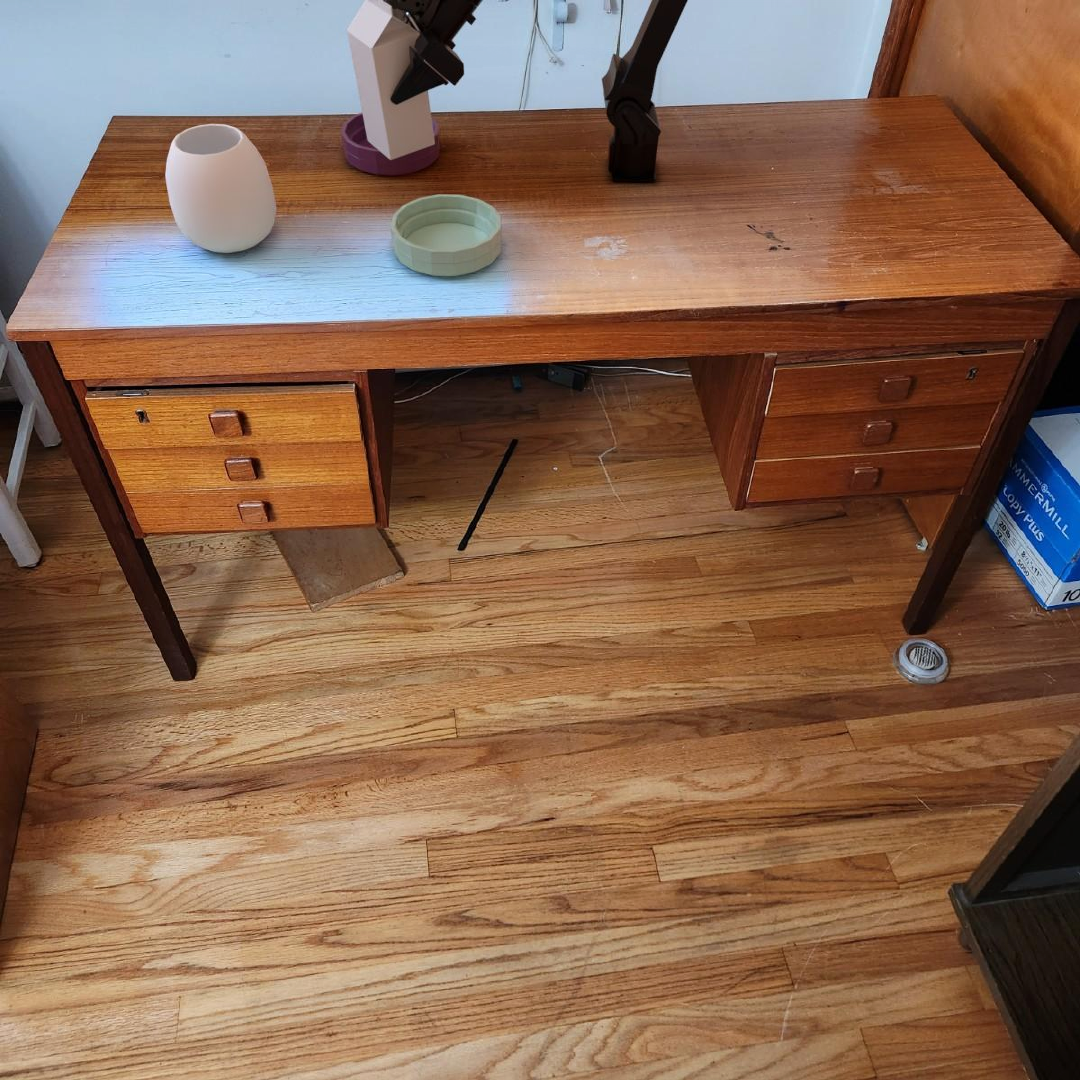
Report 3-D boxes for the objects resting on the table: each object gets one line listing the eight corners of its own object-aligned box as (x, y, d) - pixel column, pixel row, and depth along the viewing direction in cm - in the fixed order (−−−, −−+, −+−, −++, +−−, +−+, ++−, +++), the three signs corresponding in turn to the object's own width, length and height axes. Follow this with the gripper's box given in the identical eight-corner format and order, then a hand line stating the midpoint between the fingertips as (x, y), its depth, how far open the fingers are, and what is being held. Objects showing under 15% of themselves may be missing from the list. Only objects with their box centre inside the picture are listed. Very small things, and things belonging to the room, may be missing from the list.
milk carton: (390, 161, 132) (365, 14, 117) (367, 141, 136) (340, -3, 121) (435, 145, 134) (416, -1, 119) (411, 126, 138) (389, -18, 123)
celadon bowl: (502, 222, 132) (502, 195, 129) (499, 280, 123) (499, 252, 120) (399, 220, 132) (397, 193, 129) (388, 278, 123) (385, 250, 120)
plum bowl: (443, 133, 149) (441, 108, 147) (436, 178, 140) (434, 152, 137) (351, 132, 149) (348, 106, 146) (339, 176, 140) (335, 150, 137)
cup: (254, 271, 123) (231, 171, 113) (162, 254, 125) (131, 155, 115) (298, 220, 132) (281, 123, 122) (211, 205, 134) (187, 109, 124)
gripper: (395, -79, 123) (323, 23, 129) (432, -30, 112) (352, 79, 117) (457, -18, 131) (387, 76, 137) (498, 33, 119) (420, 133, 125)
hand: (385, 89), depth 129 cm, fingers closed on milk carton, 8 cm apart
